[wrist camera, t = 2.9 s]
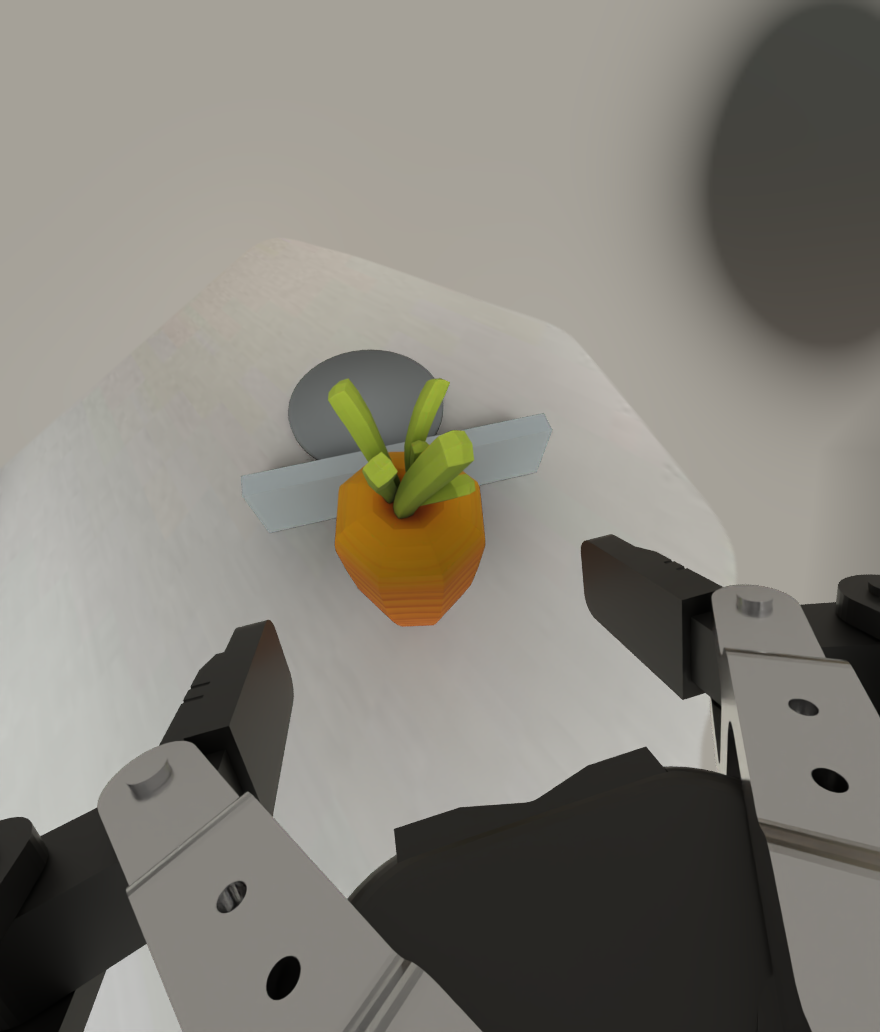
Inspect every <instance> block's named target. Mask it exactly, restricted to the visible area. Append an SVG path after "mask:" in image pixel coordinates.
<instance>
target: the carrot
mask: <svg viewBox="0 0 880 1032" xmlns="http://www.w3.org/2000/svg"><path fill="white" fill-rule="evenodd" d="M449 384H450V382H448V381H446V380H443V379H440V378H439V379H431V380H428V381H427V382H426V384H425V385H424V387H423V389H422V391H421V392H420V395H419V397H418V399H417V402H416V404H415V406H414V409H413V412H412V416H411V419H410V423H409V426H408V430H407V435H406V439H405V444H404V452H388V451H387V449H386V446H385V444H384V442H383V439H382V437H381V435H380V433H379V430H378V428H377V426H376V423H375V421H374V419H373V417H372V414H371V412H370V410H369V408H368V407H367V405H366V403H365V401H364V400H363V398H362V396H361V395H360V393H359V391H358V390H357V388H356V387H355V386H354V385H353V383H352V382H351V381H350V380H349V378H348V379H345V380H342V381H339V382H338V383H337V384H336V385H335V386H333V387H332V389H331V390H330V391H329V394H328V401H329V402H330V404H331V406H332V407H333V409H334V411H335V412H336V414H337V415H338V416H339V418H340V419H341V421H342V422H343V424H344V425H345V426H346V428H347V429H348V431H349V432H350V434H351V436H352V437H353V439H354V440H355V442H356V444H357V445H358V447H359V448H360V450H361V452H362V453H363V455H364V456H365V458H366V460H367V461H368V463H367V464H366V465H365V466H364V467H362V468H361V469H360V470H359V471H358V472H356V473H355V474H354V475H353V476H352V477H350V478H349V479H348V480H347V481H345V482H344V483H343V484H342V485H341V486H340V487H339V492H338V506H337V520H336V534H335V549H336V552H337V554H338V556H339V558H340V559H341V561H342V563H343V565H344V567H345V568H346V570H347V572H348V574H349V575H350V577H351V578H352V580H353V581H354V583H355V584H356V586H357V587H358V589H359V590H360V591H361V592H362V593H363V594H364V595H366V596H367V597H368V598H369V599H370V600H371V601H372V602H373V603H374V604H375V605H376V606H377V607H378V608H379V609H380V610H381V611H382V612H383V613H384V614H385V615H387V616H388V617H389V618H390V619H391V620H392V621H393V622H394V623H396V624H397V625H400V626H424V625H434V624H436V623H437V622H438V621H439V620H440V619H441V617H442V616H443V615H444V614H445V613H446V612H447V611H448V610H449V609H450V608H451V607H452V606H453V604H454V603H455V602H456V601H457V600H458V599H459V598H460V597H461V596H462V595H463V593H464V592H465V591H466V590H467V589H468V588H469V586H470V585H471V583H472V581H473V579H474V576H475V574H476V571H477V569H478V566H479V563H480V560H481V557H482V554H483V551H484V548H485V532H484V523H483V513H482V504H481V494H480V487H479V484H478V482H477V481H476V480H474V479H473V478H472V477H470V476H469V475H468V474H466V473H465V472H464V471H463V470H464V469H465V468H467V467H468V466H469V465H470V464H471V463H472V462H473V461H474V454H473V445H472V442H471V441H470V439H469V437H468V436H467V434H466V433H465V431H459V430H452V431H450V432H447V433H445V434H443V435H440V436H438V437H437V438H436V439H435V440H434V441H433V442H432V443H431V444H430V445H429V444H428V443H427V442H425V441H426V438H427V435H428V433H429V430H430V428H431V425H432V423H433V420H434V418H435V415H436V413H437V411H438V408H439V406H440V404H441V402H442V400H443V398H444V396H445V394H446V391H447V389H448V386H449Z"/></svg>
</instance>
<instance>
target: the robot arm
mask: <svg viewBox="0 0 880 1032" xmlns="http://www.w3.org/2000/svg"><path fill="white" fill-rule="evenodd" d="M581 559H582V571H583V583H584V594H585V600H586V603H587V606H588V608H589V610H590V612H591V614H592V615H593V617H594V618H595V619H596V620H597V621H598V622H599V623H600V624H602V625H603V626H604V627H605V628H606V629H607V630H608V631H609V632H610V633H611V634H612V635H613V636H614V637H616V638H617V639H618V640H619V641H620V642H621V643H622V644H623V645H624V646H625V647H626V648H627V649H628V650H630V651H631V652H632V653H633V654H634V655H635V656H636V657H637V658H638V659H639V660H640V661H641V662H642V663H644V664H645V665H646V666H647V667H648V668H649V669H650V670H651V671H652V672H653V673H654V674H655V675H656V676H658V677H659V678H660V679H661V680H662V681H663V682H664V683H665V684H666V685H667V686H668V687H669V688H670V689H671V690H673V691H674V692H675V693H676V694H677V695H678V696H679V697H680V698H681V699H682V700H684V699H687V698H690V697H694V696H697V695H700V694H703V693H706V694H708V695H709V696H710V717H711V726H712V735H713V743H714V752H715V761H716V770H717V772H713V771H708V770H704V769H697V768H690V767H672V766H669V767H663V766H662V765H661V764H660V763H659V762H658V760H657V759H656V758H655V757H654V756H653V754H652V753H651V752H650V751H649V750H648V748H647V747H643V748H640V749H637V750H634V751H631V752H628V753H625V754H622V755H619V756H616V757H613V758H610V759H607V760H603V761H600V762H597V763H594V764H591V765H588V766H587V767H585V768H583V769H582V770H580V771H579V772H577V773H576V774H574V775H573V776H571V777H570V778H568V779H567V780H565V781H564V782H562V783H561V784H559V785H558V786H556V787H555V788H553V789H552V790H550V791H549V792H547V793H546V794H544V795H543V796H541V797H540V798H538V799H536V800H534V801H531V802H526V803H515V804H501V805H487V806H473V807H460V808H457V809H454V810H451V811H448V812H445V813H441V814H438V815H435V816H432V817H429V818H426V819H423V820H420V821H417V822H414V823H411V824H408V825H405V826H402V827H399V828H396V829H394V834H395V843H396V853H397V855H395V856H394V857H392V858H391V859H389V860H388V861H386V862H385V863H384V864H382V865H381V866H380V867H379V868H377V869H376V870H375V871H374V872H372V873H371V874H370V875H369V876H368V877H367V878H366V879H365V880H364V881H363V882H362V883H361V884H360V885H359V886H358V887H357V888H356V889H355V890H354V892H353V893H352V894H351V895H350V896H349V898H348V899H346V898H345V896H344V895H343V894H342V893H341V892H340V891H339V890H338V889H337V888H336V887H335V885H334V884H333V883H332V882H331V881H330V880H329V879H328V878H327V877H326V875H325V874H324V873H323V872H322V871H321V870H320V869H319V868H318V867H317V865H316V864H315V863H314V862H313V861H312V860H311V859H310V858H309V857H308V856H307V854H306V853H305V852H304V851H303V850H302V849H301V848H300V847H299V846H298V844H297V843H296V842H295V841H294V840H293V839H292V838H291V837H290V836H289V835H288V833H287V832H286V831H285V830H284V829H283V828H282V827H281V826H280V825H279V823H278V822H277V821H276V820H275V819H274V818H273V811H274V806H275V800H276V795H277V789H278V784H279V778H280V772H281V767H282V761H283V756H284V750H285V744H286V739H287V733H288V728H289V722H290V716H291V711H292V705H293V697H294V693H293V683H292V678H291V674H290V671H289V668H288V665H287V662H286V659H285V656H284V653H283V650H282V647H281V644H280V641H279V638H278V635H277V633H276V630H275V627H274V625H273V623H272V622H271V621H270V620H266V621H262V622H258V623H254V624H250V625H246V626H242V627H238V628H236V629H235V631H234V633H233V635H232V637H231V639H230V641H229V643H228V645H227V648H226V650H225V652H223V653H219V654H216V655H215V656H214V657H213V658H212V659H211V660H210V661H209V662H207V663H206V664H205V665H204V666H203V667H202V668H201V669H200V670H199V672H198V674H197V676H196V677H195V679H194V681H193V683H192V685H191V689H190V690H189V691H188V692H187V694H186V696H185V698H184V700H183V701H184V703H183V704H181V706H180V707H179V709H178V711H177V713H176V715H175V717H174V719H173V720H172V722H171V724H170V726H169V728H168V730H167V732H166V734H165V735H164V737H163V739H162V741H161V743H160V745H159V746H157V747H155V748H153V749H151V750H149V751H147V752H145V753H143V754H142V755H140V756H138V757H137V758H135V759H134V760H132V761H131V762H129V763H128V764H127V765H126V766H124V767H123V768H122V769H121V770H120V771H119V772H118V773H117V774H116V775H115V776H114V777H113V778H112V779H111V780H110V781H109V782H108V784H107V785H106V786H105V788H104V789H103V791H102V793H101V795H100V797H99V800H98V805H97V808H95V809H93V810H92V811H90V812H88V813H86V814H84V815H82V816H80V817H78V818H76V819H74V820H72V821H70V822H68V823H66V824H64V825H62V826H60V827H58V828H56V829H54V830H52V831H50V832H48V833H46V834H44V835H42V836H40V835H39V834H38V832H37V831H36V829H35V827H34V826H33V824H32V823H31V821H30V820H29V819H27V818H24V817H14V818H8V819H4V820H1V821H0V1032H83V1031H84V1029H85V1026H86V1023H87V1021H88V1018H89V1015H90V1012H91V1010H92V1007H93V1004H94V1002H95V999H96V996H97V994H98V991H99V988H100V986H101V983H102V980H103V978H104V975H105V972H106V970H107V969H108V968H110V967H111V966H113V965H114V964H116V963H118V962H119V961H121V960H122V959H124V958H125V957H127V956H128V955H130V954H131V953H133V952H134V951H136V950H138V949H139V948H141V947H142V946H144V945H145V944H147V945H148V948H149V950H150V953H151V955H152V957H153V960H154V962H155V965H156V967H157V970H158V972H159V975H160V977H161V980H162V982H163V985H164V987H165V990H166V992H167V995H168V997H169V1000H170V1002H171V1005H172V1007H173V1009H174V1012H175V1014H176V1017H177V1019H178V1022H179V1024H180V1027H181V1029H182V1032H880V575H856V576H851V577H847V578H845V579H843V580H841V581H840V582H839V584H838V590H837V599H836V602H835V603H834V602H833V603H819V604H805V605H800V604H799V603H798V601H797V600H796V599H794V598H793V597H792V596H790V595H788V594H786V593H784V592H781V591H779V590H776V589H773V588H768V587H764V586H758V585H731V586H726V587H722V586H720V585H718V584H716V583H714V582H712V581H711V580H709V579H707V578H705V577H703V576H701V575H699V574H697V573H695V572H693V571H692V570H690V569H688V568H686V569H685V568H684V566H682V565H680V564H678V563H676V562H675V561H674V562H672V561H671V559H669V558H667V557H665V556H663V555H661V554H659V553H657V552H655V551H651V550H647V549H643V548H639V547H635V546H633V545H631V544H629V543H628V542H626V541H624V540H622V539H620V538H618V537H617V536H615V535H612V534H610V535H606V536H602V537H598V538H594V539H590V540H586V541H584V542H583V543H582V545H581Z"/></svg>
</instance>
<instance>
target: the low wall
mask: <svg viewBox="0 0 880 1032" xmlns="http://www.w3.org/2000/svg"><path fill="white" fill-rule="evenodd" d="M460 431H465V433H466V434H467V436H468V437H469V439H470V441H471V442H472V445H473V454H474V461H473V462H472V463H471V464H470V465H469V466H468V467H467V468H465V469H464V470H463V471H464V472H465V473H466V474H468V475H469V476H470V477H472V478H473V479H474V480H476V481H477V482H478V484H479V485H483V484H487V483H491V482H496V481H500V480H505V479H509V478H513V477H518V476H522V475H526V474H531V473H535V472H537V470H538V467H539V464H540V462H541V459H542V456H543V454H544V451H545V448H546V446H547V443H548V440H549V438H550V435H551V432H552V428H551V426H550V424H549V422H548V420H547V418H546V416H545V414H544V413H542V414H537V415H532V416H527V417H523V418H518V419H513V420H508V421H503V422H499V423H494V424H489V425H484V426H479V427H475V428H470V429H465V430H460ZM441 435H443V434H441ZM438 436H440V435H436V436H431V437H427V438H426V441H425V442H427V443H428V444H429V445H430V444H431V443H432V442H433V441H434V440H435V439H436V438H437V437H438ZM404 444H405V442H403V443H398V444H393V445H388V446H386V449H387V451H388V452H404ZM367 463H368V461H367V460H366V458H365V456H364V455H363V453H362V452H361V451H359V452H355V453H350V454H345V455H340V456H335V457H331V458H326V459H321V460H316V461H311V462H307V463H302V464H297V465H292V466H287V467H283V468H278V469H273V470H268V471H263V472H259V473H254V474H249V475H244V476H241V485H242V497H243V498H244V499H245V501H246V502H247V503H248V505H249V506H250V507H251V509H252V510H253V512H254V513H255V514H256V516H257V517H258V518H259V520H260V521H261V522H262V524H263V525H264V526H265V528H266V529H267V530H268V532H269V533H272V532H276V531H281V530H285V529H289V528H294V527H298V526H303V525H307V524H311V523H316V522H320V521H324V520H329V519H333V518H337V506H338V492H339V487H340V486H341V485H342V484H343V483H344V482H345V481H347V480H348V479H349V478H350V477H352V476H353V475H354V474H355V473H356V472H358V471H359V470H360V469H361V468H362V467H364V466H365V465H366V464H367Z"/></svg>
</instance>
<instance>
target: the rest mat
mask: <svg viewBox="0 0 880 1032" xmlns="http://www.w3.org/2000/svg"><path fill="white" fill-rule="evenodd" d="M348 378H349V380H350V381H351V382H352V383H353V385H354V386H355V387H356V388H357V390H358V391H359V393H360V395H361V396H362V398H363V400H364V401H365V403H366V405H367V407H368V408H369V410H370V412H371V414H372V417H373V419H374V421H375V423H376V426H377V428H378V430H379V433H380V435H381V437H382V439H383V442H384V444H385V446H388V445H393V444H398V443H403V442H405V439H406V435H407V430H408V426H409V423H410V419H411V416H412V412H413V409H414V406H415V404H416V402H417V399H418V397H419V395H420V392H421V391H422V389H423V387H424V385H425V384H426V382H427V381H428V380H431V379H434V377H433V376H432V375H431V374H430V372H429V371H428V370H427V369H425V368H424V367H423V366H422V365H420V364H419V363H417V362H416V361H414V360H412V359H410V358H408V357H406V356H403V355H400V354H397V353H393V352H389V351H382V350H360V351H352V352H348V353H343V354H340V355H337V356H334V357H332V358H330V359H328V360H325V361H324V362H322V363H320V364H318V365H317V366H316V367H314V368H313V369H311V370H310V371H309V372H308V373H307V374H306V375H305V376H304V377H303V378H302V379H301V380H300V381H299V383H298V384H297V386H296V387H295V389H294V391H293V393H292V396H291V399H290V402H289V409H288V416H289V422H290V427H291V429H292V431H293V433H294V436H295V438H296V440H297V441H298V443H299V444H300V446H301V447H302V448H303V449H304V450H305V451H306V452H307V453H308V454H310V455H311V456H312V457H313V458H315V459H317V460H321V459H326V458H331V457H335V456H340V455H345V454H350V453H355V452H359V451H361V450H360V448H359V447H358V445H357V444H356V442H355V440H354V439H353V437H352V436H351V434H350V432H349V431H348V429H347V428H346V426H345V425H344V424H343V422H342V421H341V419H340V418H339V416H338V415H337V414H336V412H335V411H334V409H333V407H332V406H331V404H330V402H329V401H328V394H329V391H330V390H331V389H332V387H333V386H335V385H336V384H337V383H338V382H339V381H342V380H345V379H348ZM442 415H443V400H442V402H441V404H440V406H439V408H438V411H437V413H436V415H435V418H434V420H433V423H432V425H431V428H430V430H429V433H428V435H427V437H431V436H435V434H436V433H437V431H438V429H439V426H440V424H441V420H442Z"/></svg>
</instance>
